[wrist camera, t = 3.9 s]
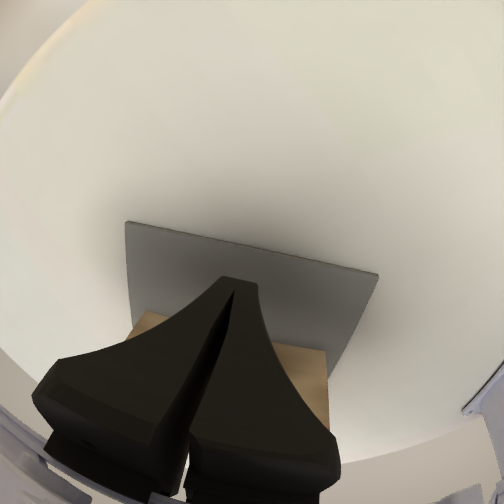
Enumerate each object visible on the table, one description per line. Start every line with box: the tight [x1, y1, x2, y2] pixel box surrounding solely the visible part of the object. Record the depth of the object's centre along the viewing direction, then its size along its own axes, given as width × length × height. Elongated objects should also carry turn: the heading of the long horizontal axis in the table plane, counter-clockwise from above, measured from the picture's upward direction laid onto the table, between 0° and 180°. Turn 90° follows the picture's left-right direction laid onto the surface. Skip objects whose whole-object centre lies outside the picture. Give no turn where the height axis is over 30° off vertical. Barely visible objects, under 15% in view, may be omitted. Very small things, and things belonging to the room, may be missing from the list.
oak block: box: [125, 310, 330, 431], centre depth 13 cm, size 10×5×5 cm, turn 80°
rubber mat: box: [125, 221, 379, 380], centre depth 17 cm, size 12×21×1 cm, turn 170°
